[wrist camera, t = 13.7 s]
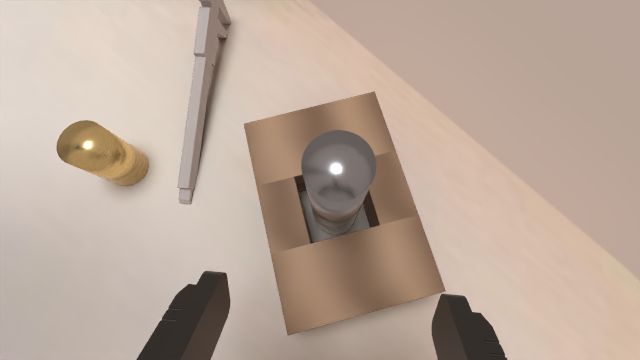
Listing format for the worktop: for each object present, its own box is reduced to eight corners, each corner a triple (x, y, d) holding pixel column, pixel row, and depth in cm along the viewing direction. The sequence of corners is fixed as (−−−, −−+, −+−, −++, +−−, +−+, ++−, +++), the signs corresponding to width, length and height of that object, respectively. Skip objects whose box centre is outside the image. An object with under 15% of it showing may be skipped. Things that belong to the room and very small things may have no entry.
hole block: (295, 324, 25) (287, 335, 21) (256, 145, 29) (243, 124, 25) (426, 288, 25) (445, 291, 21) (368, 117, 30) (374, 91, 26)
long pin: (320, 238, 27) (311, 209, 14) (309, 199, 28) (293, 140, 15) (360, 228, 27) (386, 190, 14) (348, 189, 28) (363, 122, 16)
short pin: (111, 190, 29) (57, 169, 23) (109, 154, 30) (56, 126, 24) (150, 180, 29) (105, 157, 23) (146, 145, 30) (103, 115, 24)
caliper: (222, 22, 34) (199, -32, 28) (231, 22, 34) (211, -32, 28) (181, 204, 28) (141, 185, 22) (192, 205, 28) (155, 186, 22)
